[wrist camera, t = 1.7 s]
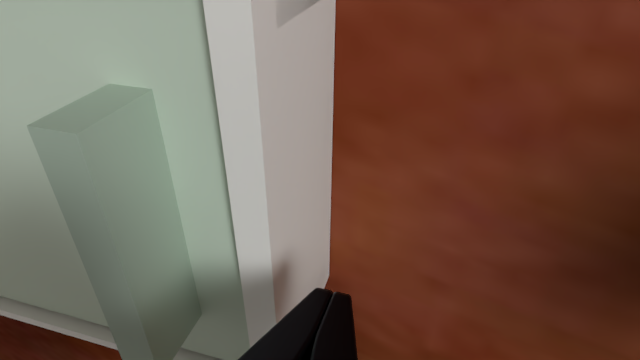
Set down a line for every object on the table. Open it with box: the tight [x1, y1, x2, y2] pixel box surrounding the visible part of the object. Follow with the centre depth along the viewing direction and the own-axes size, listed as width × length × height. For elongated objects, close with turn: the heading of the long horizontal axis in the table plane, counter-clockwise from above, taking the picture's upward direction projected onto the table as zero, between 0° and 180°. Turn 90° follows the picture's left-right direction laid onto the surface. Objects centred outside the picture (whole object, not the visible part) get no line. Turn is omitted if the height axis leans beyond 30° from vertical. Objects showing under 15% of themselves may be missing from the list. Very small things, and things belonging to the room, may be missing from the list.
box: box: [0, 0, 336, 360], centre depth 16 cm, size 14×15×6 cm
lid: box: [0, 0, 250, 360], centre depth 13 cm, size 13×14×3 cm
